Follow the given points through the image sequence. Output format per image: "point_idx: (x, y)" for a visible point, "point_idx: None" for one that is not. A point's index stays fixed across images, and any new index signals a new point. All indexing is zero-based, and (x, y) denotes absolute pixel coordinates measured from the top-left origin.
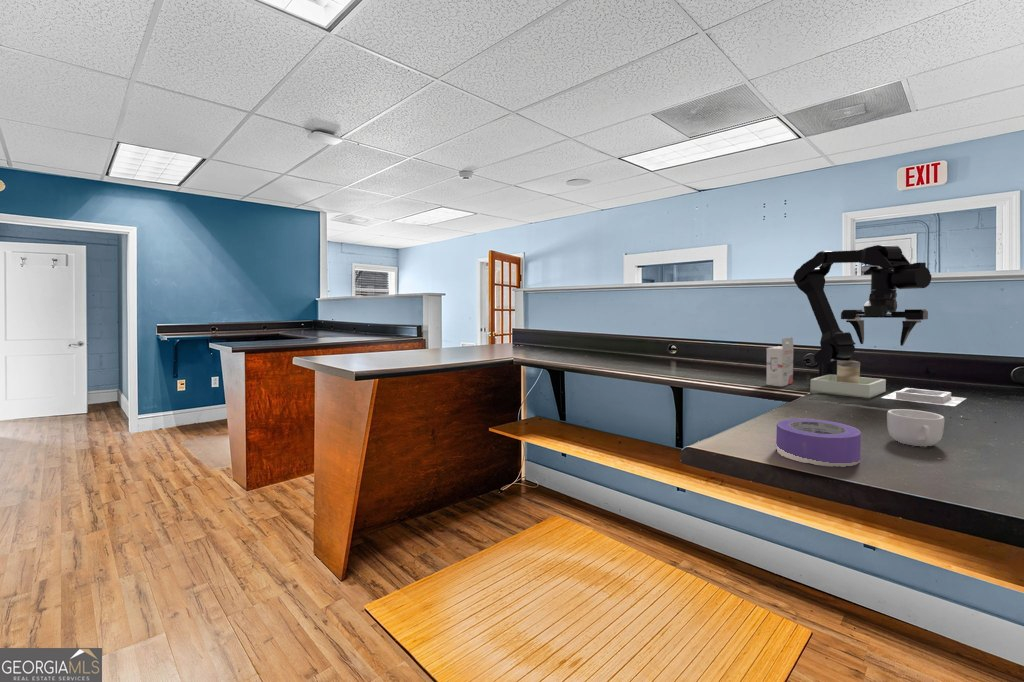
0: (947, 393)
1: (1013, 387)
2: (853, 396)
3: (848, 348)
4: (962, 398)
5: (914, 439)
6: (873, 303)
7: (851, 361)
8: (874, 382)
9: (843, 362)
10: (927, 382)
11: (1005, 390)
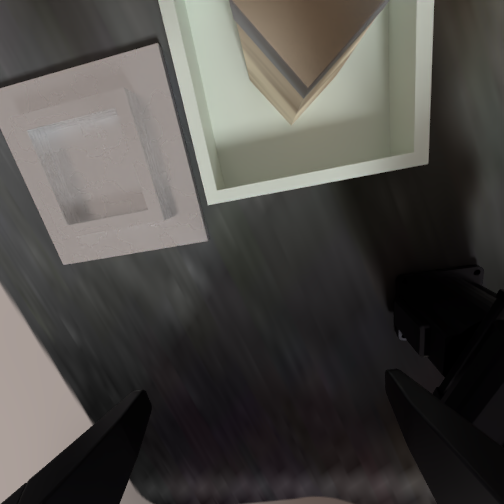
0: (50, 205)
1: (136, 487)
2: None
3: (481, 417)
4: (64, 252)
5: None
6: None
7: (295, 7)
8: (181, 60)
9: None
10: (253, 455)
11: None
